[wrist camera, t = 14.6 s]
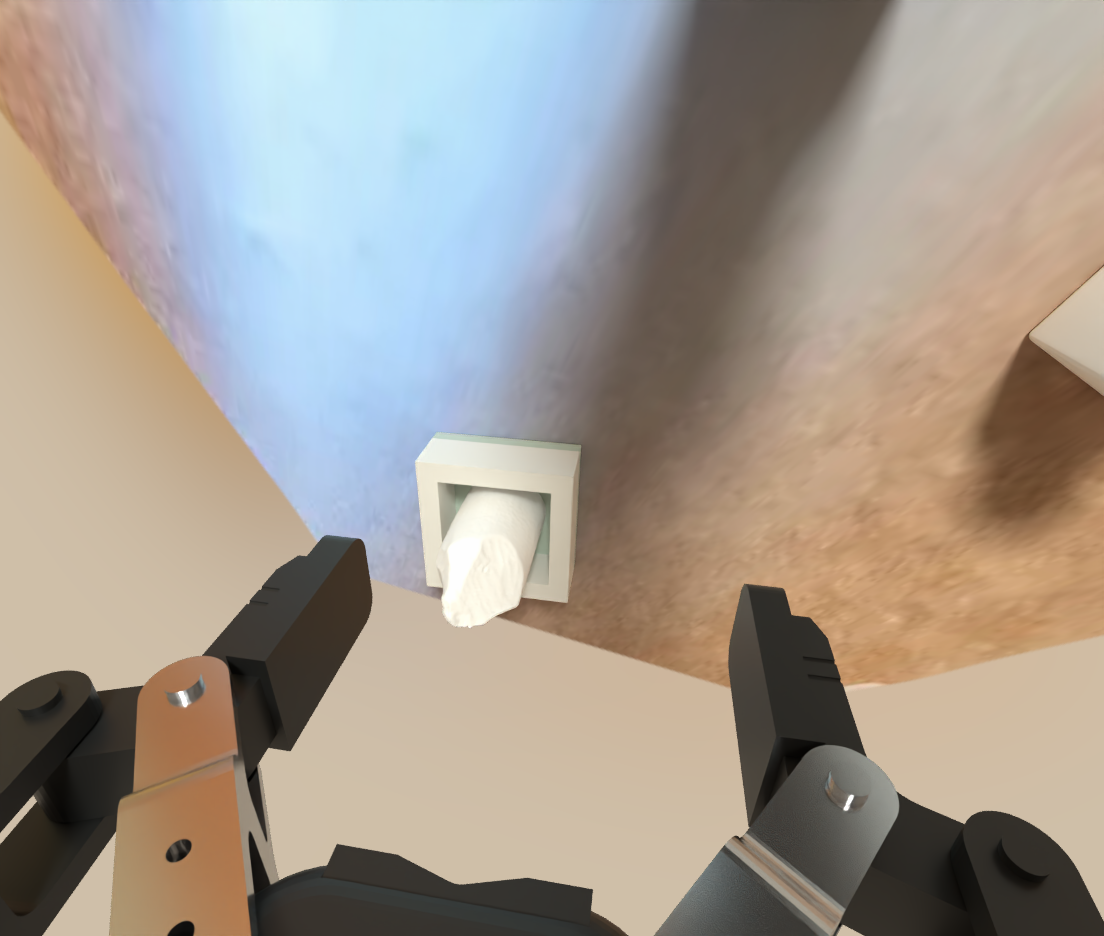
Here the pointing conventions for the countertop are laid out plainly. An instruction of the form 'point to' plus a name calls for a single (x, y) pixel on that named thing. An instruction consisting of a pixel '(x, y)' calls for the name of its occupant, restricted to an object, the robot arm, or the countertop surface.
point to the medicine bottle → (1077, 332)
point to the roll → (488, 554)
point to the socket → (506, 466)
